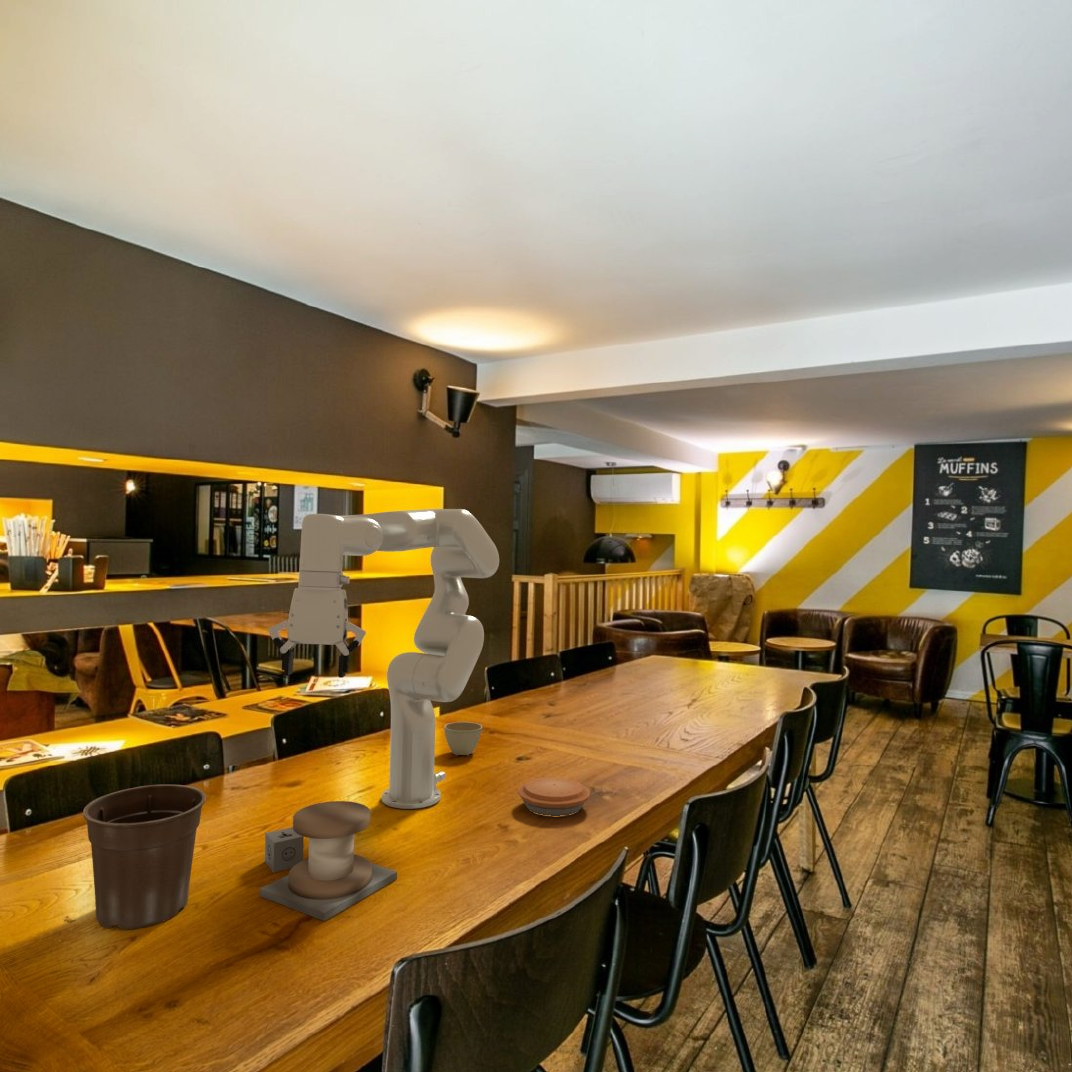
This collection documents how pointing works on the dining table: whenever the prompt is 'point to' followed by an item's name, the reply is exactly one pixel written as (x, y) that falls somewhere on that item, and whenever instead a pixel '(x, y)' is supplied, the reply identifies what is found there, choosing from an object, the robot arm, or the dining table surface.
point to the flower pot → (462, 737)
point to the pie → (553, 795)
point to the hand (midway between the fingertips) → (315, 675)
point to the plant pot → (143, 852)
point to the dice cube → (283, 849)
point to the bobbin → (329, 863)
